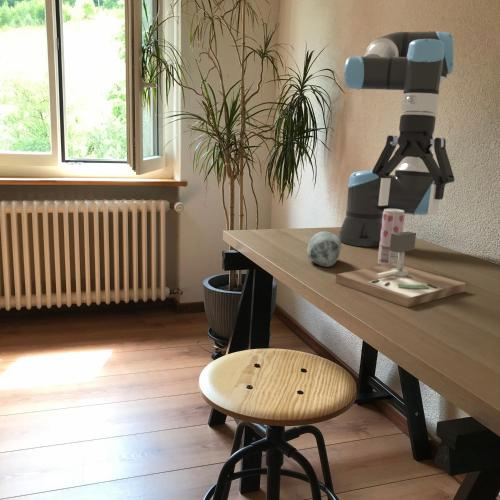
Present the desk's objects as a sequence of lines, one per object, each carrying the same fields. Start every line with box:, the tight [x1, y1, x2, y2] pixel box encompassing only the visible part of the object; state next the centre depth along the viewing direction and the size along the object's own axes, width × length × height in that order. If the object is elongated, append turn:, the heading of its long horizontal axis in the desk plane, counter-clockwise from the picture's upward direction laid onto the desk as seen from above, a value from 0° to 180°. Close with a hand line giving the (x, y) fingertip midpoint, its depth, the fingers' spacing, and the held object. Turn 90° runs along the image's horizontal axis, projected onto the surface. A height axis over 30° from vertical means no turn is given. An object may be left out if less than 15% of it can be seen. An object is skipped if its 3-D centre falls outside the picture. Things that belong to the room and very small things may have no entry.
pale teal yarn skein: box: [306, 231, 342, 268], centre depth 140 cm, size 14×10×10 cm
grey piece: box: [376, 231, 417, 277], centre depth 121 cm, size 11×4×10 cm, turn 128°
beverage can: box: [377, 209, 406, 266], centre depth 140 cm, size 6×6×15 cm
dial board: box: [335, 263, 467, 308], centre depth 121 cm, size 22×20×2 cm
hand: (406, 209), depth 120 cm, fingers open, 13 cm apart
